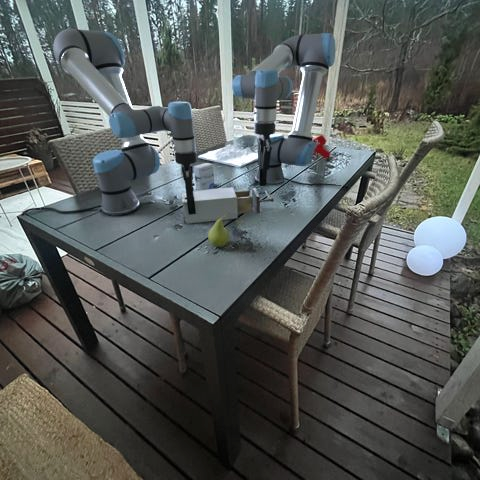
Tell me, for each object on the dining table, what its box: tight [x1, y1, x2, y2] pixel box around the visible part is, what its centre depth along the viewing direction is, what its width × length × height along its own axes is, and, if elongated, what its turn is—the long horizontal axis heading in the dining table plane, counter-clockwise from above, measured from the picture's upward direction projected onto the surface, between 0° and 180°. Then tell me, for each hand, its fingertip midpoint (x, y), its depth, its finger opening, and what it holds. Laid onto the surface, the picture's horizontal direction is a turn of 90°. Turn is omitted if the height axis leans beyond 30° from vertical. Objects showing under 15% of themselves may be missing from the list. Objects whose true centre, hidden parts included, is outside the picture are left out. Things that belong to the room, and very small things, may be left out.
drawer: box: [234, 187, 275, 214], centre depth 110 cm, size 25×9×7 cm, turn 100°
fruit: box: [207, 212, 230, 248], centre depth 89 cm, size 7×8×12 cm
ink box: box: [193, 162, 215, 191], centre depth 132 cm, size 8×5×12 cm, turn 135°
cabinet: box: [182, 186, 239, 225], centre depth 109 cm, size 20×10×9 cm, turn 100°
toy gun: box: [312, 133, 331, 161], centre depth 176 cm, size 18×4×15 cm
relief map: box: [197, 143, 258, 168], centre depth 180 cm, size 27×35×5 cm
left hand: (191, 207), depth 108 cm, fingers closed on cabinet, 10 cm apart
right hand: (262, 185), depth 108 cm, fingers closed
